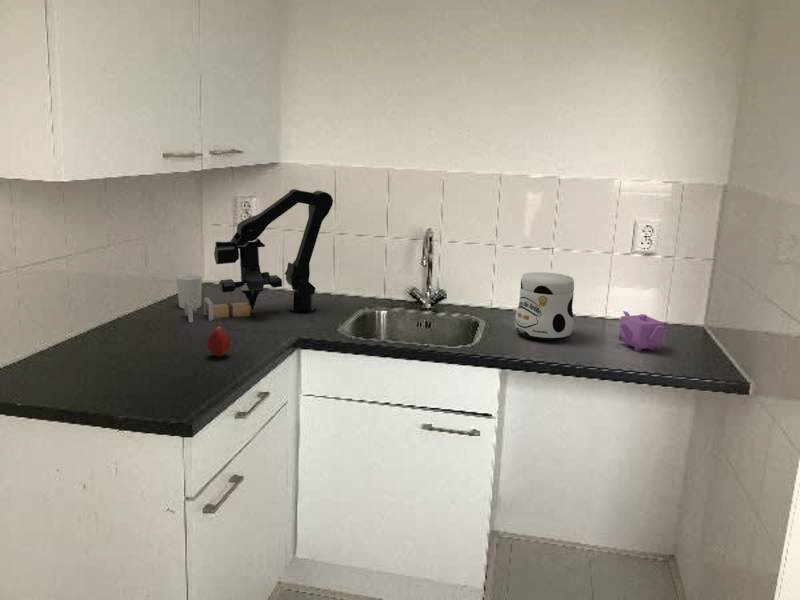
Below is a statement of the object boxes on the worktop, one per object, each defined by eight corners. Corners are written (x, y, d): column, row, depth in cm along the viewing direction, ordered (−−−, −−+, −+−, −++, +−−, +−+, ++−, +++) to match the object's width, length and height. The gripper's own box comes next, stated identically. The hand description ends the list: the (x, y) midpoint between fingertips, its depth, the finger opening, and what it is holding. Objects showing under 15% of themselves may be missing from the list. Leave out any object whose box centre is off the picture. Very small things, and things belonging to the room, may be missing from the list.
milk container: (506, 338, 212) (510, 278, 207) (522, 325, 227) (527, 269, 223) (565, 347, 204) (570, 286, 200) (577, 333, 220) (583, 275, 216)
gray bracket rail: (206, 311, 228) (206, 295, 227) (213, 320, 218) (212, 303, 217) (183, 313, 225) (182, 296, 224) (189, 322, 215) (188, 304, 214)
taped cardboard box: (247, 313, 229) (247, 302, 228) (250, 316, 225) (249, 304, 224) (209, 316, 224) (208, 304, 223) (211, 318, 220) (211, 307, 219)
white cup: (198, 310, 230) (197, 279, 227) (174, 309, 230) (173, 278, 228) (205, 304, 237) (204, 274, 235) (181, 303, 237) (180, 273, 235)
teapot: (599, 340, 213) (603, 308, 211) (636, 337, 218) (640, 306, 215) (638, 358, 197) (642, 324, 195) (677, 355, 201) (681, 321, 199)
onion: (218, 361, 181) (218, 331, 179) (202, 357, 184) (201, 327, 182) (235, 356, 186) (234, 326, 184) (219, 351, 189) (218, 322, 187)
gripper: (224, 269, 212) (227, 319, 216) (286, 263, 220) (287, 312, 224) (217, 262, 222) (220, 310, 226) (276, 257, 230) (278, 304, 234)
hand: (252, 309), depth 227 cm, fingers closed
